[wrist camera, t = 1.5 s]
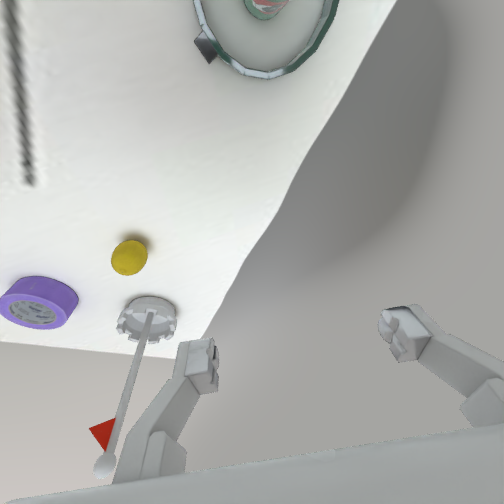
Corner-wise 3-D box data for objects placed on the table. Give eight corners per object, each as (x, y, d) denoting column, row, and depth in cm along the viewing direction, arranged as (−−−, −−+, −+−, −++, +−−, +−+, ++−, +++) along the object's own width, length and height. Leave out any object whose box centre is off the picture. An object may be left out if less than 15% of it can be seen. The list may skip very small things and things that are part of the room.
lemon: (148, 231, 41) (134, 259, 35) (155, 254, 45) (144, 283, 39) (117, 232, 41) (97, 260, 35) (126, 255, 44) (110, 284, 38)
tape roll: (9, 270, 44) (-12, 289, 40) (77, 282, 47) (64, 301, 44) (20, 306, 50) (3, 325, 46) (79, 314, 54) (68, 332, 50)
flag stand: (188, 316, 59) (165, 473, 36) (147, 330, 61) (99, 487, 38) (158, 287, 51) (103, 465, 28) (111, 304, 53) (23, 483, 30)
